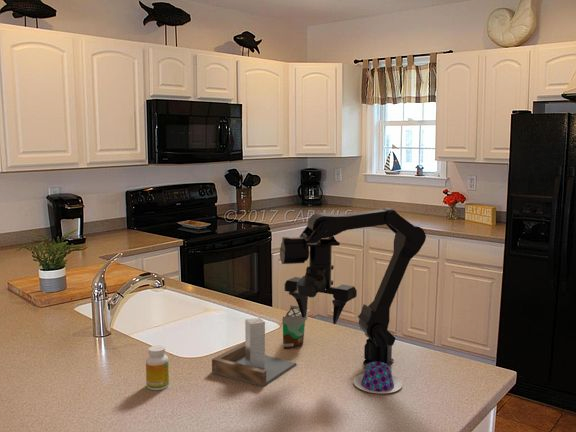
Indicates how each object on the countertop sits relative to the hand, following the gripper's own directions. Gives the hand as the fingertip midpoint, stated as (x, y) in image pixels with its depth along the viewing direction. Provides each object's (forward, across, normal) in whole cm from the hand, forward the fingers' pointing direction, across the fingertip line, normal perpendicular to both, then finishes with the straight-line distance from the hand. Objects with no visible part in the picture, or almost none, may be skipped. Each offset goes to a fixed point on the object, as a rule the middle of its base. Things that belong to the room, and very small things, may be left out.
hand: (319, 320), depth 149 cm
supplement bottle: (+13, -28, -31) cm, 44 cm away
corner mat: (+13, -14, -10) cm, 21 cm away
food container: (+13, -14, +12) cm, 23 cm away
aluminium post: (+12, -14, -10) cm, 21 cm away
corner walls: (+13, -14, -10) cm, 21 cm away
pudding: (+14, +17, -1) cm, 22 cm away
